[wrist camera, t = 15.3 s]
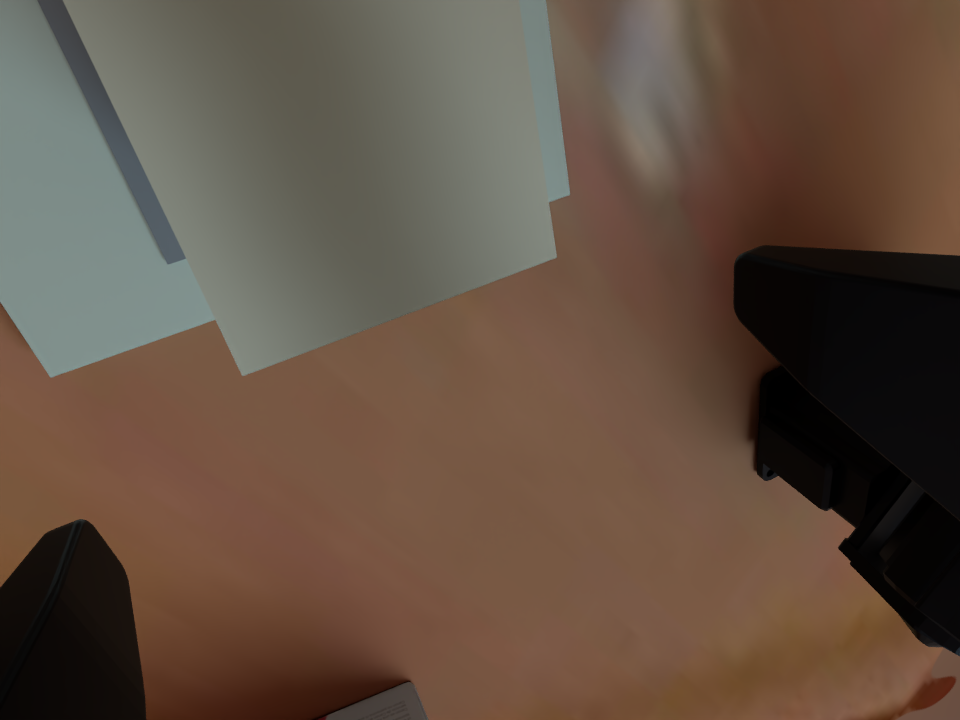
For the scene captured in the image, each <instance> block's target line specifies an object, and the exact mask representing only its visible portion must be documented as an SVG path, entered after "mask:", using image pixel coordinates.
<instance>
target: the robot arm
mask: <svg viewBox="0 0 960 720" xmlns="http://www.w3.org/2000/svg"><path fill="white" fill-rule="evenodd" d="M733 304H734V310H735V313H736V316H737V317H738V319H739V321H740V322H741V323H742V324H743V325H744V326H745V327H746V328H747V329H748V330H749V331H750V332H751V333H752V334H753V336H754V337H755V338H756V339H757V340H758V341H759V342H760V343H761V344H762V345H763V346H764V347H765V348H766V349H767V350H768V351H769V352H770V353H771V354H772V355H773V356H774V357H775V358H776V360H777V361H778V362H779V363H780V364H781V365H782V367H780V368H777V369H775V370H773V371H771V372H769V373H767V374H766V375H765V376H764V377H763V379H762V381H761V385H760V408H759V432H758V456H757V475H758V476H760V477H761V478H762V479H763V480H765V481H768V480H771V479H773V478H775V477H777V476H780V477H781V478H782V479H783V480H785V481H786V482H787V483H788V484H790V485H791V486H792V487H793V488H795V489H796V490H797V491H798V492H800V493H801V494H802V495H803V496H805V497H806V498H807V499H808V500H810V501H811V502H812V503H813V504H815V505H816V506H817V507H818V508H820V509H822V510H824V511H828V510H830V509H832V510H834V511H835V512H836V513H837V514H839V515H840V516H841V517H842V518H844V519H845V520H846V521H847V522H849V523H850V524H851V525H853V526H854V527H855V528H856V529H855V530H854V531H853V532H852V534H851V535H850V536H849V538H845V539H844V540H843V542H842V543H841V544H840V546H839V547H838V549H839V550H840V551H841V552H842V553H843V554H844V555H845V556H846V557H847V558H848V559H849V560H850V561H851V562H850V565H851V566H852V567H853V568H854V569H855V570H856V571H857V572H858V573H859V574H860V575H861V576H862V577H863V578H864V579H865V580H866V581H867V582H868V583H869V584H870V585H871V586H872V587H873V588H874V589H875V590H876V591H877V592H878V593H879V594H880V595H881V596H882V597H883V599H884V600H885V601H886V602H887V603H888V604H889V605H890V606H891V607H892V608H893V609H894V610H895V611H896V612H897V613H898V614H899V615H900V617H901V618H902V619H903V621H904V622H905V623H906V625H907V626H908V627H909V629H910V630H911V631H912V633H913V634H914V635H915V637H916V638H917V639H918V640H919V641H921V642H922V643H923V644H925V645H926V646H928V647H944V648H946V649H948V650H949V651H952V652H953V653H955V654H957V655H958V656H960V256H957V255H938V254H919V253H900V252H882V251H863V250H844V249H825V248H807V247H788V246H769V245H764V246H759V247H757V248H754V249H752V250H749V251H747V252H745V253H742V254H740V255H739V256H738V257H737V259H736V261H735V263H734V300H733ZM0 720H146V704H145V692H144V684H143V676H142V669H141V662H140V655H139V649H138V642H137V635H136V628H135V621H134V615H133V608H132V601H131V594H130V587H129V581H128V578H127V575H126V572H125V570H124V568H123V566H122V564H121V563H120V561H119V560H118V558H117V557H116V556H115V554H114V553H113V552H112V550H111V549H110V547H109V546H108V545H107V543H106V542H105V541H104V539H103V538H102V536H101V535H100V534H99V532H98V531H97V530H96V528H95V527H94V526H93V525H92V524H91V523H90V522H88V521H87V520H83V519H79V520H76V521H74V522H71V523H69V524H66V525H64V526H61V527H59V528H56V529H54V530H51V531H49V532H47V533H46V534H45V535H44V536H43V537H42V538H41V539H40V540H39V541H38V543H37V544H36V545H35V546H34V547H33V549H32V550H31V551H30V552H29V554H28V555H27V556H26V557H25V558H24V560H23V561H22V562H21V563H20V564H19V566H18V567H17V568H16V569H15V570H14V572H13V573H12V574H11V575H10V577H9V578H8V579H7V580H6V581H5V583H4V584H3V585H2V586H1V587H0Z"/></svg>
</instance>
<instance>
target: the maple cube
mask: <svg viewBox="0 0 960 720" xmlns="http://www.w3.org/2000/svg"><path fill="white" fill-rule="evenodd" d="M63 2H64V4H65V6H66V8H67V10H68V13H69V15H70V17H71V19H72V21H73V23H74V25H75V27H76V29H77V31H78V33H79V36H80V38H81V40H82V42H83V44H84V46H85V48H86V50H87V52H88V54H89V56H90V59H91V61H92V63H93V65H94V67H95V69H96V71H97V73H98V75H99V77H100V79H101V82H102V84H103V86H104V88H105V90H106V92H107V94H108V96H109V98H110V100H111V102H112V104H113V107H114V109H115V111H116V113H117V115H118V117H119V119H120V121H121V123H122V125H123V127H124V130H125V132H126V134H127V136H128V138H129V140H130V142H131V144H132V146H133V148H134V150H135V153H136V155H137V157H138V159H139V161H140V163H141V165H142V167H143V169H144V171H145V173H146V176H147V178H148V180H149V182H150V184H151V186H152V188H153V190H154V192H155V194H156V196H157V199H158V201H159V203H160V205H161V207H162V209H163V211H164V213H165V215H166V217H167V219H168V222H169V224H170V226H171V228H172V230H173V232H174V234H175V236H176V238H177V240H178V242H179V245H180V247H181V249H182V251H183V253H184V255H185V257H186V259H187V261H188V263H189V265H190V267H191V270H192V272H193V274H194V276H195V278H196V280H197V282H198V284H199V286H200V288H201V290H202V293H203V295H204V297H205V299H206V301H207V303H208V305H209V307H210V309H211V311H212V313H213V316H214V318H215V320H216V322H217V324H218V326H219V328H220V330H221V332H222V334H223V336H224V339H225V341H226V343H227V345H228V347H229V349H230V351H231V353H232V355H233V357H234V359H235V362H236V364H237V366H238V368H239V370H240V372H241V374H242V376H245V375H247V374H250V373H252V372H255V371H258V370H260V369H263V368H266V367H268V366H271V365H274V364H276V363H279V362H282V361H284V360H287V359H290V358H292V357H295V356H297V355H300V354H303V353H305V352H308V351H311V350H313V349H316V348H319V347H321V346H324V345H327V344H329V343H332V342H335V341H337V340H340V339H342V338H345V337H348V336H350V335H353V334H356V333H358V332H361V331H364V330H366V329H369V328H372V327H374V326H377V325H380V324H382V323H385V322H387V321H390V320H393V319H395V318H398V317H401V316H403V315H406V314H409V313H411V312H414V311H417V310H419V309H422V308H425V307H427V306H430V305H432V304H435V303H438V302H440V301H443V300H446V299H448V298H451V297H454V296H456V295H459V294H462V293H464V292H467V291H470V290H472V289H475V288H477V287H480V286H483V285H485V284H488V283H491V282H493V281H496V280H499V279H501V278H504V277H507V276H509V275H512V274H515V273H517V272H520V271H522V270H525V269H528V268H530V267H533V266H536V265H538V264H541V263H544V262H546V261H549V260H552V259H554V258H557V255H556V248H555V241H554V234H553V227H552V221H551V214H550V207H549V200H548V194H547V187H546V180H545V173H544V167H543V160H542V153H541V146H540V139H539V133H538V126H537V119H536V112H535V106H534V99H533V92H532V85H531V79H530V72H529V65H528V58H527V51H526V45H525V38H524V31H523V24H522V18H521V11H520V4H519V0H63Z"/></svg>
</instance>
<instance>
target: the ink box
mask: <svg viewBox="0 0 960 720" xmlns="http://www.w3.org/2000/svg"><path fill="white" fill-rule="evenodd" d="M318 720H428V718H427V715H426V713H425V710H424V708H423V705H422V703H421V700H420V698H419V695H418V693H417V690H416V688H415V686H414V685H413V684H412V683H411V682H407V683H403V684H401V685H399V686H396V687H394V688H392V689H389V690H387V691H384V692H382V693H379V694H377V695H375V696H372V697H370V698H368V699H365V700H363V701H360V702H358V703H355V704H353V705H351V706H348V707H346V708H344V709H341V710H339V711H336V712H334V713H331V714H329V715H327V716H325V717H322V718H320V719H318Z"/></svg>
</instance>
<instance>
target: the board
mask: <svg viewBox="0 0 960 720" xmlns="http://www.w3.org/2000/svg"><path fill="white" fill-rule="evenodd" d="M519 4H520V11H521V18H522V24H523V31H524V38H525V45H526V51H527V58H528V65H529V72H530V79H531V85H532V92H533V99H534V106H535V112H536V119H537V126H538V133H539V139H540V146H541V153H542V160H543V167H544V173H545V180H546V187H547V194H548V200H549V202H551V201H554V200H556V199H559V198H562V197H565V196H568V195H570V189H569V181H568V173H567V165H566V157H565V149H564V141H563V133H562V125H561V117H560V109H559V101H558V93H557V85H556V77H555V69H554V61H553V53H552V46H551V38H550V30H549V22H548V14H547V6H546V0H519ZM0 302H1V304H2V305H3V307H4V308H5V310H6V311H7V313H8V314H9V316H10V317H11V319H12V320H13V322H14V323H15V325H16V326H17V328H18V329H19V331H20V332H21V334H22V335H23V337H24V338H25V340H26V341H27V343H28V344H29V346H30V347H31V349H32V350H33V352H34V353H35V355H36V356H37V358H38V359H39V361H40V362H41V364H42V365H43V367H44V368H45V370H46V371H47V373H48V374H49V376H50V377H54V376H57V375H60V374H62V373H65V372H68V371H71V370H74V369H77V368H79V367H82V366H85V365H88V364H91V363H94V362H96V361H99V360H102V359H105V358H108V357H111V356H113V355H116V354H119V353H122V352H125V351H128V350H131V349H133V348H136V347H139V346H142V345H145V344H148V343H150V342H153V341H156V340H159V339H162V338H165V337H167V336H170V335H173V334H176V333H179V332H182V331H184V330H187V329H190V328H193V327H196V326H199V325H202V324H204V323H207V322H210V321H213V320H215V318H214V316H213V313H212V311H211V309H210V307H209V305H208V303H207V301H206V299H205V297H204V295H203V293H202V290H201V288H200V286H199V284H198V282H197V280H196V278H195V276H194V274H193V272H192V270H191V267H190V265H189V263H188V261H187V259H186V257H185V255H184V253H183V251H182V249H181V247H180V245H179V242H178V240H177V238H176V236H175V234H174V232H173V230H172V228H171V226H170V224H169V222H168V219H167V217H166V215H165V213H164V211H163V209H162V207H161V205H160V203H159V201H158V199H157V196H156V194H155V192H154V190H153V188H152V186H151V184H150V182H149V180H148V178H147V176H146V173H145V171H144V169H143V167H142V165H141V163H140V161H139V159H138V157H137V155H136V153H135V150H134V148H133V146H132V144H131V142H130V140H129V138H128V136H127V134H126V132H125V130H124V127H123V125H122V123H121V121H120V119H119V117H118V115H117V113H116V111H115V109H114V107H113V104H112V102H111V100H110V98H109V96H108V94H107V92H106V90H105V88H104V86H103V84H102V82H101V79H100V77H99V75H98V73H97V71H96V69H95V67H94V65H93V63H92V61H91V59H90V56H89V54H88V52H87V50H86V48H85V46H84V44H83V42H82V40H81V38H80V36H79V33H78V31H77V29H76V27H75V25H74V23H73V21H72V19H71V17H70V15H69V13H68V10H67V8H66V6H65V4H64V2H63V0H0Z"/></svg>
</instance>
